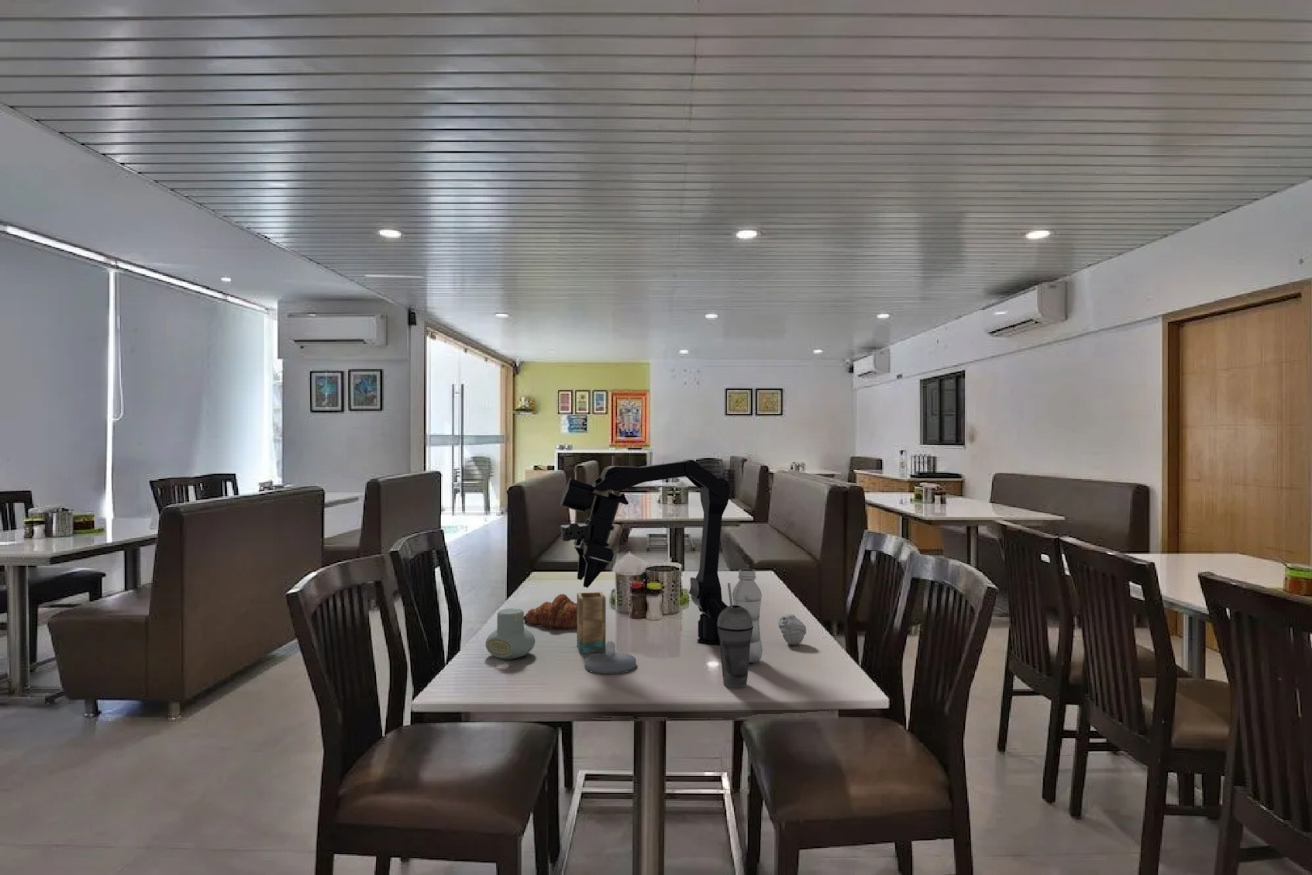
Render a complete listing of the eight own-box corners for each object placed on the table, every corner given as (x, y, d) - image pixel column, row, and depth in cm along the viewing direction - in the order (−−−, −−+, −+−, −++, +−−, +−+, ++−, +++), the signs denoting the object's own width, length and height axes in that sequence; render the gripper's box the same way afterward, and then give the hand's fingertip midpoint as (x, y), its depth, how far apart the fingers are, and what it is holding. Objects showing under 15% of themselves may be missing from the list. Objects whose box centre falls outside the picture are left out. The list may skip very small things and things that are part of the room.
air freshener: (541, 653, 153) (541, 609, 153) (519, 664, 145) (519, 617, 146) (502, 647, 157) (502, 605, 158) (479, 657, 150) (479, 612, 150)
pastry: (579, 614, 190) (579, 586, 190) (604, 627, 176) (604, 596, 177) (522, 622, 181) (522, 593, 181) (544, 636, 168) (544, 604, 168)
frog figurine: (787, 638, 165) (787, 610, 165) (812, 644, 160) (812, 615, 160) (772, 643, 160) (772, 614, 160) (797, 650, 155) (797, 619, 155)
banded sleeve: (602, 644, 160) (602, 591, 160) (605, 651, 154) (605, 597, 154) (576, 645, 159) (577, 592, 159) (579, 653, 153) (579, 598, 153)
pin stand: (644, 661, 147) (644, 637, 147) (621, 677, 137) (621, 651, 137) (600, 655, 151) (600, 632, 152) (575, 669, 141) (575, 645, 142)
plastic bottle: (744, 668, 143) (743, 573, 143) (726, 659, 149) (726, 568, 149) (768, 663, 146) (768, 571, 146) (750, 655, 152) (750, 566, 152)
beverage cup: (752, 692, 128) (752, 587, 129) (714, 689, 130) (714, 586, 130) (754, 679, 135) (754, 580, 136) (718, 677, 137) (718, 579, 137)
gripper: (564, 505, 163) (544, 567, 162) (575, 512, 145) (553, 582, 144) (606, 517, 166) (588, 578, 165) (623, 526, 148) (602, 595, 147)
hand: (582, 583), depth 155 cm, fingers open, 9 cm apart
